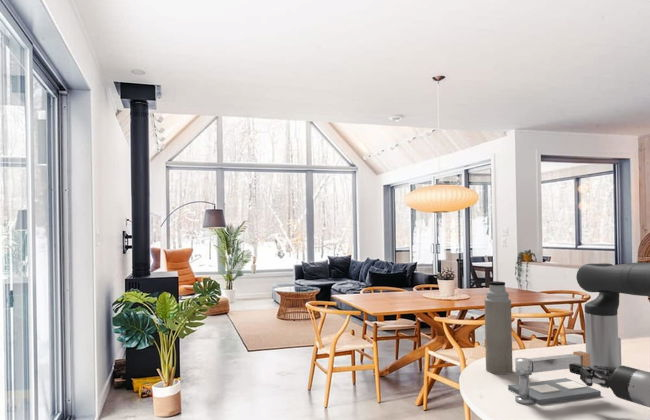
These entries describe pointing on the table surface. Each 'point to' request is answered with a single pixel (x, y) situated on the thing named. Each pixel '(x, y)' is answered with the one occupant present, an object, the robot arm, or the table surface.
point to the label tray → (557, 390)
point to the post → (524, 391)
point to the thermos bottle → (498, 329)
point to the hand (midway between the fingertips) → (571, 367)
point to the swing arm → (550, 363)
